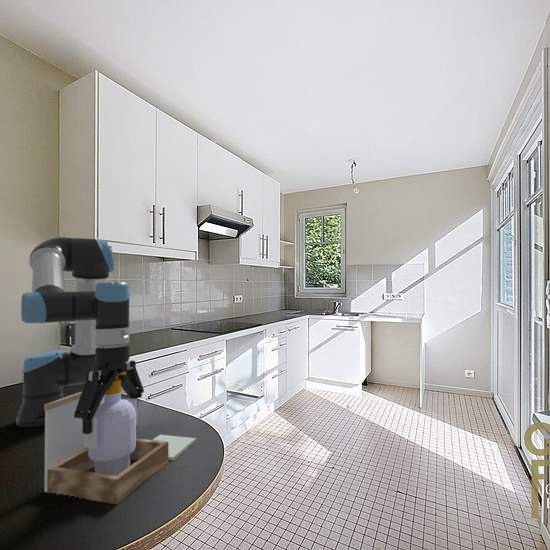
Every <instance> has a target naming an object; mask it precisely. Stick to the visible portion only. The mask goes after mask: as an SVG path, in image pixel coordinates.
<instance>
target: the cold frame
mask: <svg viewBox="0 0 550 550" xmlns="http://www.w3.org/2000/svg"><path fill="white" fill-rule="evenodd" d="M131 460H133V461H135V462H134V463H132V464H130V467H128V468H127V469H126V470H124V471H123V472H121V473H120V474H119V475H117V476H115V475H108V474H101V473H95V471H94V472H93V471H89V470H91V469H92V468H95V461H93V460H90V458H89V456H88V448H85V449H83V450H82V451H80V452H78V453H76V454H74V455H73V456H71V457H69V458H67V459H65V460H63V461H62V462H60V463H58V464H56V465H54V466H53V467H51V468H49V469H48V492H47V493H48V494H54V493H56V494H55V495H60V494H64V495H63V496H65V495H69V496H68V497H71V496H75V497H74V498H77V497H79V498H78V499H83V498H84V500H88V501H89V500H90V501H94V502H102V503H107V504H113V505H119V504H121V502H122V501H124V500H125V499H126V498H127V497H129V496H130V495H131V494H132V493H133V492H134V491H136V490H137V489H138V488H139V487H140V486H141V485H143V484H144V483H145V482H146V481H147V480H149V479H150V478H151V477H152V476H154V475H155V474H156V473H157V472H158V471H159V470H160V469H162V468H163V467H164V466H165V465H166V464H168V463H169V461H170V460H169V450H168V442H165V441H156V440H153V439H145V438H144V439H143V438H137V437H136V447H135V450H134V451H133V452H132V453H131V454H130V461H131Z"/></svg>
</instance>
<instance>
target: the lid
mask: <svg viewBox="0 0 550 550" xmlns="http://www.w3.org/2000/svg"><path fill="white" fill-rule="evenodd" d="M81 393H82V391H79V392H75V393H73V394H71V395H67V396H65V397H64V398H62V399H59V400H56V401H53V402H50V403H47V404H44V410H45V425H44V487H43V488H44V489H43V490H44V493H48V469H49V468H51V467H53V466H54V465H56V464H58V463H60V462H62V461H63V460H65V459H67V458H69V457H71V456H73V455H74V454H76V453H78V452H80V451H82V450H83V449H85V447H84V434H83V432H82V419H81V418H74V413H75V410H76V408H77V405H78V402H79V399H80V396H81ZM103 401H104V397H103V399H102V401H101V402H103ZM81 412H82V411H81ZM89 412H90V411H89ZM89 412H88V413H89Z"/></svg>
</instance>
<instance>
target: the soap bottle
mask: <svg viewBox="0 0 550 550" xmlns="http://www.w3.org/2000/svg"><path fill="white" fill-rule="evenodd" d="M126 373H127V372H125V373H117V376H116V381H113V383H112V386H110V388H109V389H108V390H107V391H106V393H105V395H104V401H103V402H101V403H100V405H99V407H98V409H97V411H96V413H95V415H94V417H97V447H96V448H88V456H89V458H90V460H93V461H95V466H94V473H101V474H108V475H115V476H117V475H119V474H120V473H121V472H123V471H124V470H126V469H127V468H128V467H130V466H131V459H130V454H131V453H132V452H133V451H134V450H135V447H136V438H137V427H136V426H137V425H136V413H135V409H134V407H133V405H132V404H131V403H130V402H129V401H128V400H126V398H122V387H121V379H119V380H118V375H126Z"/></svg>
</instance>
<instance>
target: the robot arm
mask: <svg viewBox="0 0 550 550" xmlns="http://www.w3.org/2000/svg"><path fill="white" fill-rule="evenodd" d="M114 258H115V257H114V252H113V248H112V245H111V243H110V242H109V241H108V240H104V239H98V238H83V237H82V238H78V237H61V236H60V237H54V238H50V239H47V240H44V241H43V242H41V243H40V244H38V245H37V246H36V247H35V248H33V250H32V251H31V253H30V254H29V261H28V263H29V267H30V269H31V270H32V281H31V283H32V284H31V285H32V287H31V291H29V292H24V293H23V294H22V295H21V303H20V304H21V306H20V307H21V308H20V314H21V317H20V319H21V321H22V322H23V323H25V324H46V323H49V324H50V323H61V322H63V323H64V322H75V338H74V339H75V341H74V344H73V345H72V346H71V347H70V349H69V352H66V353H64V351H63V350H62V349H54V350H48V351H43V352H39V353H36V354H32V355H29V356H27V357H26V358H25V359H24V360H23V370H22V374H23V376H22V377H23V379H22V381H23V382H22V383H23V384H22V389H23V390H22V402H21V405H20V407H19V410H18V413H17V416H16V419H15V420H16V421H15V422H16V423H15V424H16V426H17V427H19V428H39V427H43V426H44V427H45V410H44V404H47V403H50V402H53V401H56V400H59V399H62V398H65V397H64V393H63V392H64V390H63V388H64V387H69V386H75V385H76V386H77V385H82V384H83V388H82V391H81V392H82V393H81V396H80V399H79V402H78V405H77V408H76V410H75V413H74V418H81V419H82V432H83V434H84V447H85V448H96V447H97V417H94V415H95V413H96V411H97V409H98V407H99V405H100V403H101V401H102V399H103V397H104V395H105V393H106V391H107V390H108V389H109V388H110V386H112V383H113V381H116V376H117V373H125V372H127V373H126V375H118V380H119V379H121V389H122V390H123V391H124V392H125V394H126V395H127V396H128V398H125V400H128V401H129V402H130V403H131V404H132V405H133V407H134V409H135V413H136V426H137V425H138V411H139V410H138V409H139V399H141V398H142V396H143V393H144V392H145V390H144V386H143V384H142V381H141V379H140V375H139V373H138V370H137V364H136V361H135V360H129V359H130V346H129V345H128V344H129V343H130V298H131V295H130V289H129V287H130V285H129V284H128V283H127V282H124V281H106V280H108V279H109V277H110V275H109V274H110V273H113V272H114V271H115V259H114ZM64 272H71V273H72V274H71V277H72V278H73V279H74V280H75V281H76V291H66V286H65V285H66V284H65V278H64V277H65V276H64ZM81 411H82V412H81ZM89 411H90V412H89ZM88 412H89V413H88Z"/></svg>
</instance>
